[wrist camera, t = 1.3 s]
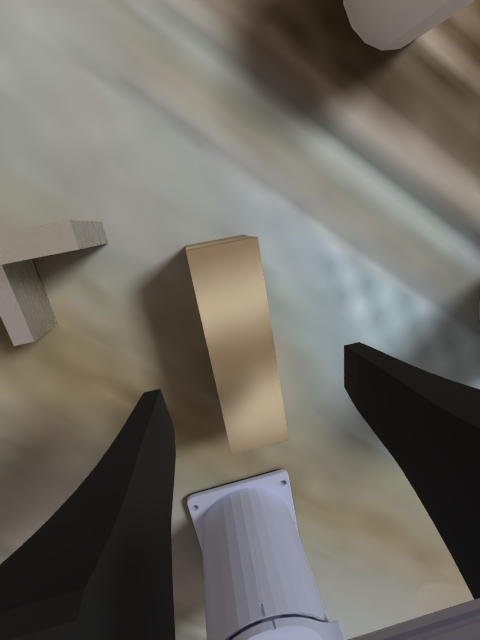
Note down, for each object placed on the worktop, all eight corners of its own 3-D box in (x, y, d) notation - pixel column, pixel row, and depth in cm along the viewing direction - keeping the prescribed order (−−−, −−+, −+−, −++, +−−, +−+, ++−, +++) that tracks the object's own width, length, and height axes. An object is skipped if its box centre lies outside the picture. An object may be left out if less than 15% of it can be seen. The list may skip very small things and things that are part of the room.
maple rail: (269, 400, 23) (288, 440, 19) (223, 412, 23) (231, 455, 18) (241, 234, 19) (257, 237, 15) (185, 245, 19) (185, 251, 15)
